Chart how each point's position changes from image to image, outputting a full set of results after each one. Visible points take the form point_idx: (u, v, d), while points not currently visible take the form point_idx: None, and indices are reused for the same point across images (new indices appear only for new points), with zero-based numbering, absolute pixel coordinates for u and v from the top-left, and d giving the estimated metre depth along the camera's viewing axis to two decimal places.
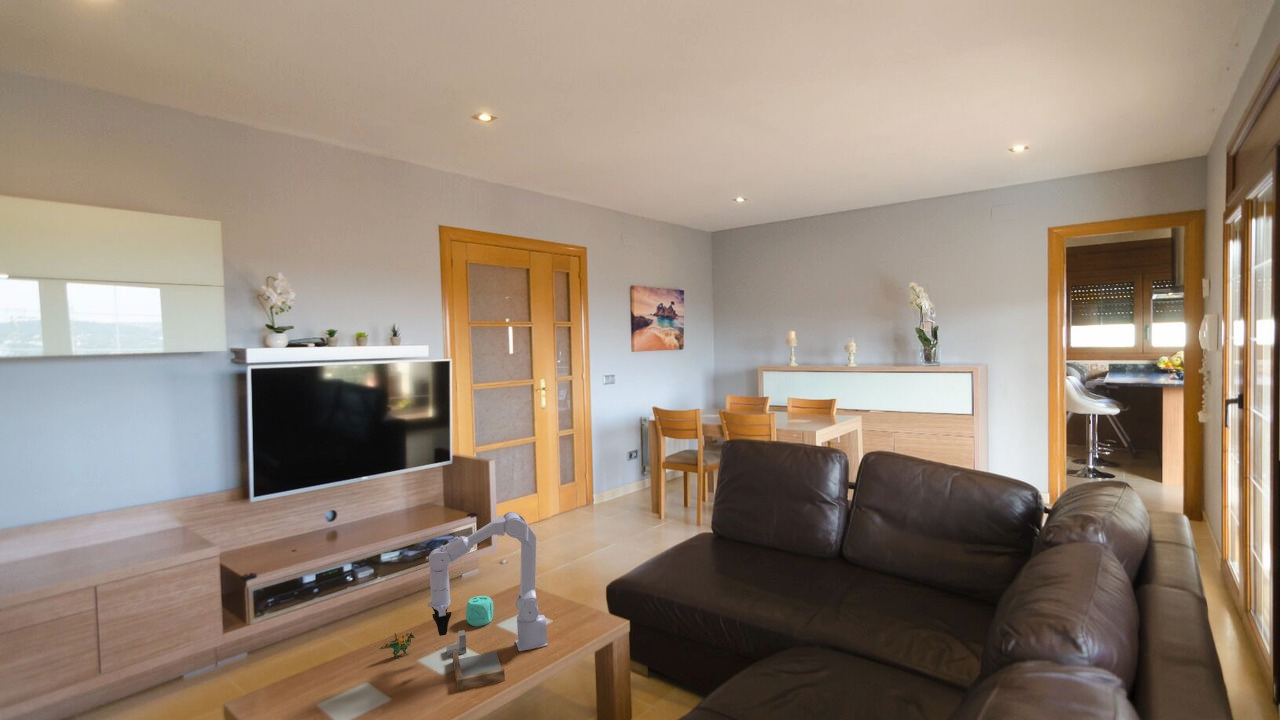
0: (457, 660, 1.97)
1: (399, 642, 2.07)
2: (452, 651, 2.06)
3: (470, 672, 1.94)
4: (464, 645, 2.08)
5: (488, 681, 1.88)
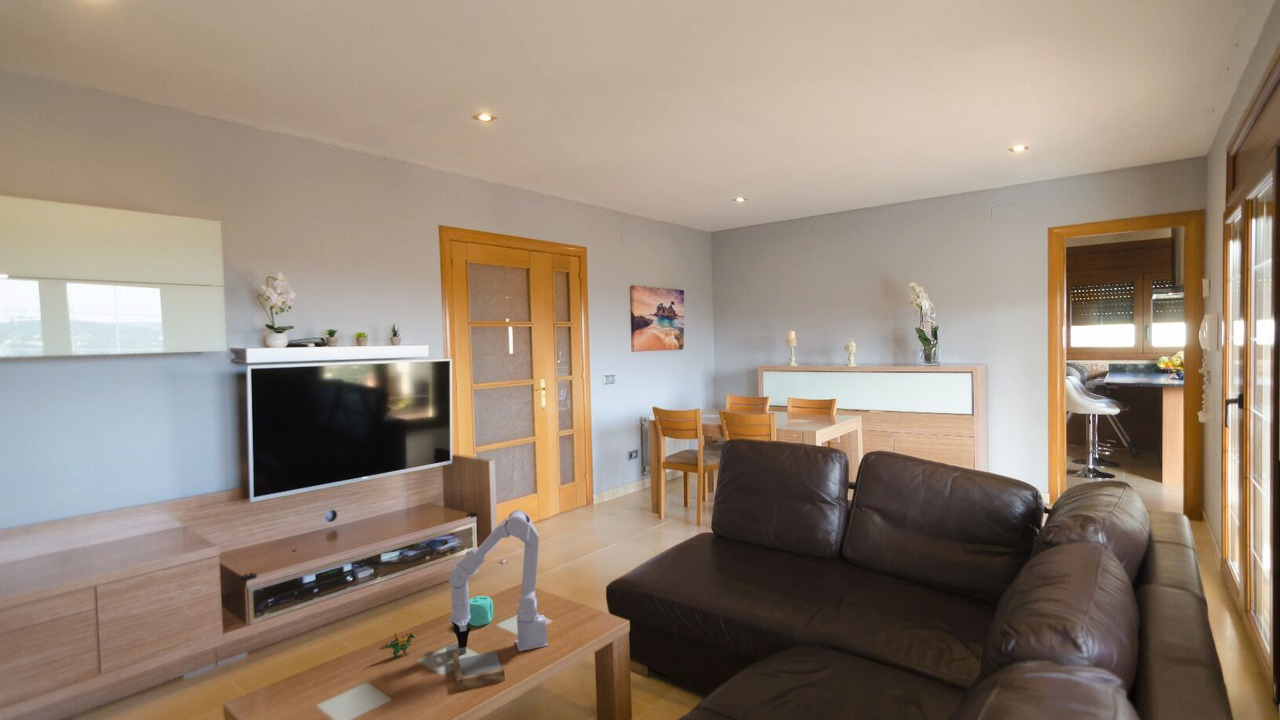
0: (457, 660, 1.97)
1: (399, 642, 2.07)
2: (452, 651, 2.06)
3: (470, 672, 1.94)
4: None
5: (488, 681, 1.88)
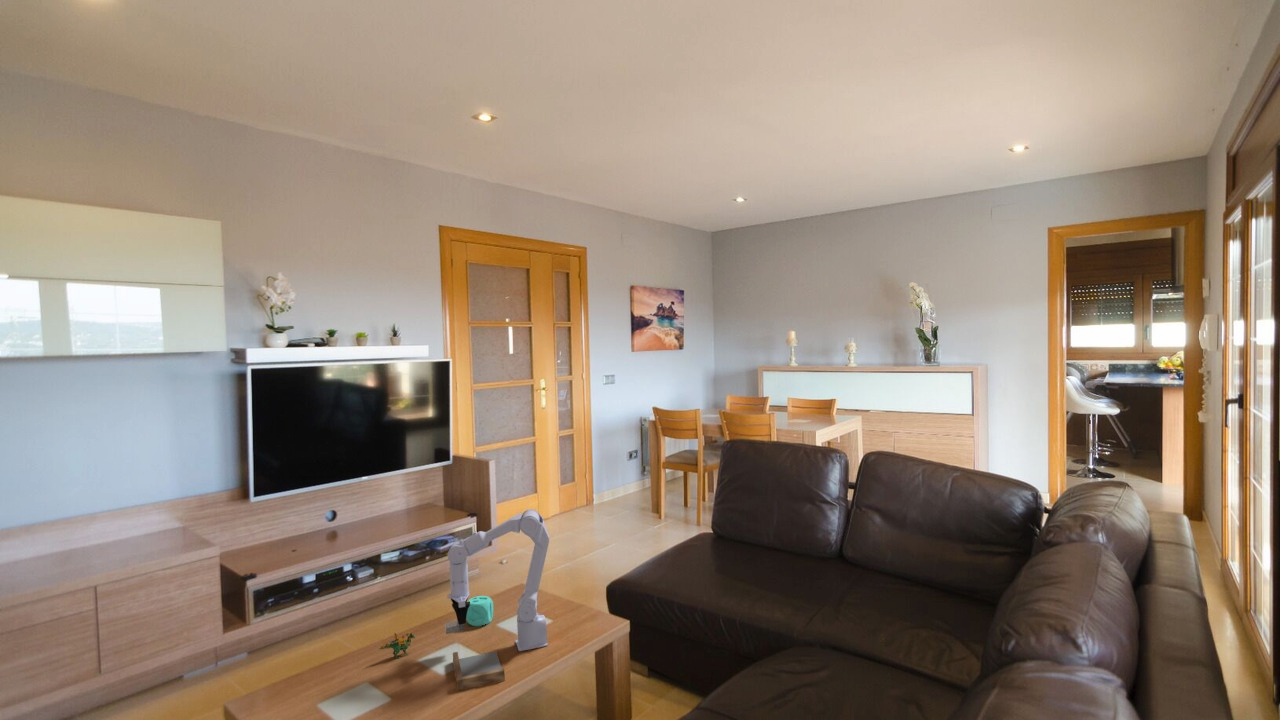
0: (457, 660, 1.97)
1: (399, 642, 2.07)
2: (451, 628, 2.06)
3: (470, 672, 1.94)
4: None
5: (488, 681, 1.88)
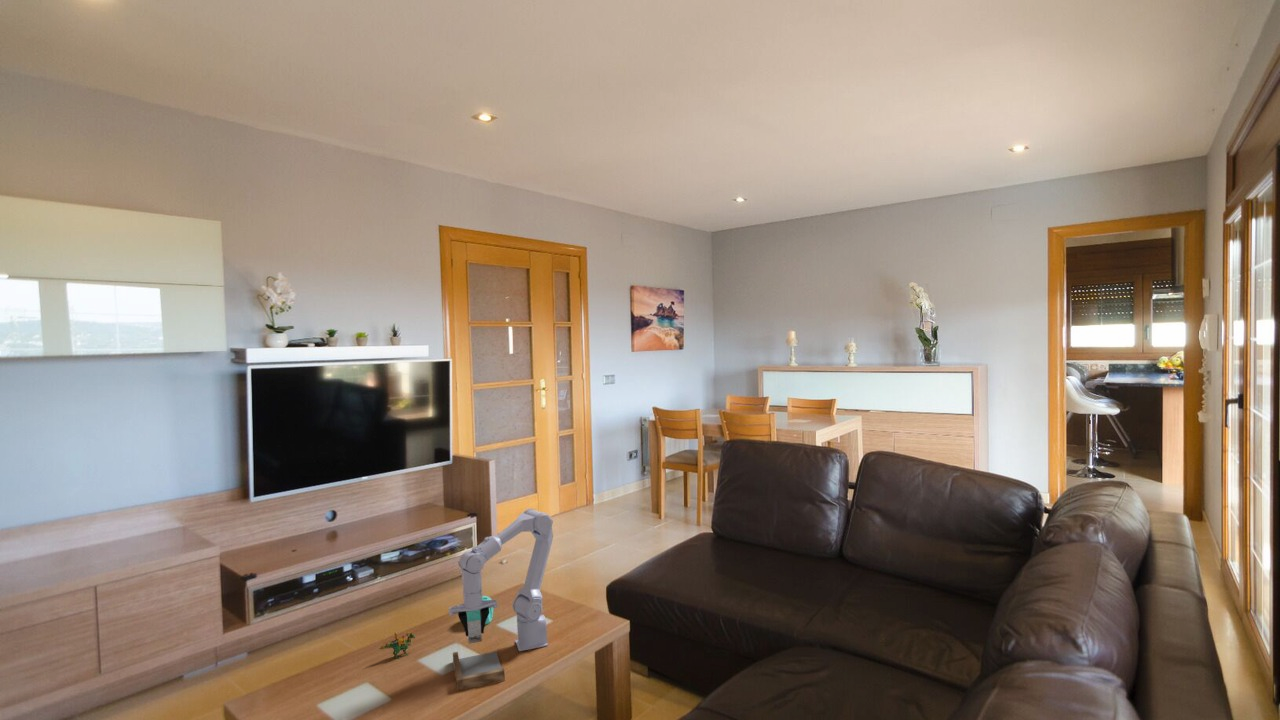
0: (457, 660, 1.97)
1: (399, 642, 2.07)
2: None
3: (470, 672, 1.94)
4: None
5: (488, 681, 1.88)
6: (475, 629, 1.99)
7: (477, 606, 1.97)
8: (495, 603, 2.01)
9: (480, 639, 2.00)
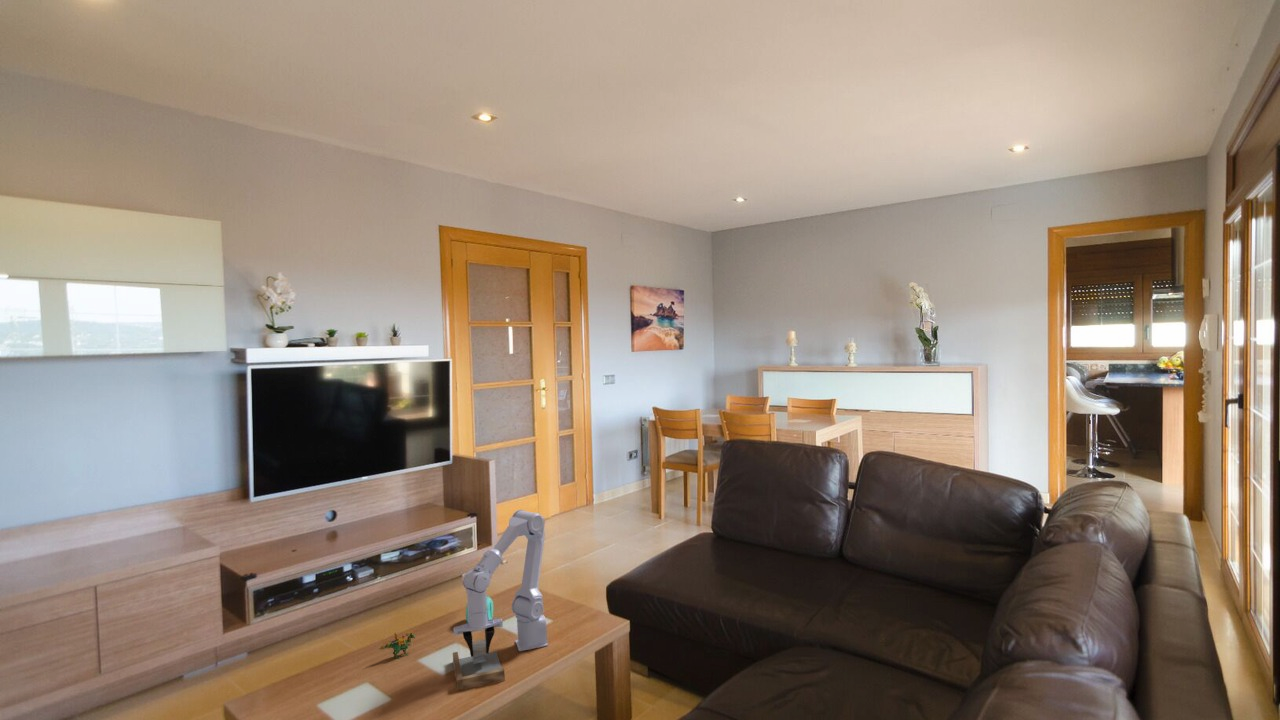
0: (457, 660, 1.97)
1: (399, 642, 2.07)
2: None
3: (470, 672, 1.94)
4: None
5: (488, 681, 1.88)
6: (480, 649, 1.96)
7: (482, 626, 1.94)
8: (500, 622, 1.98)
9: (485, 659, 1.97)
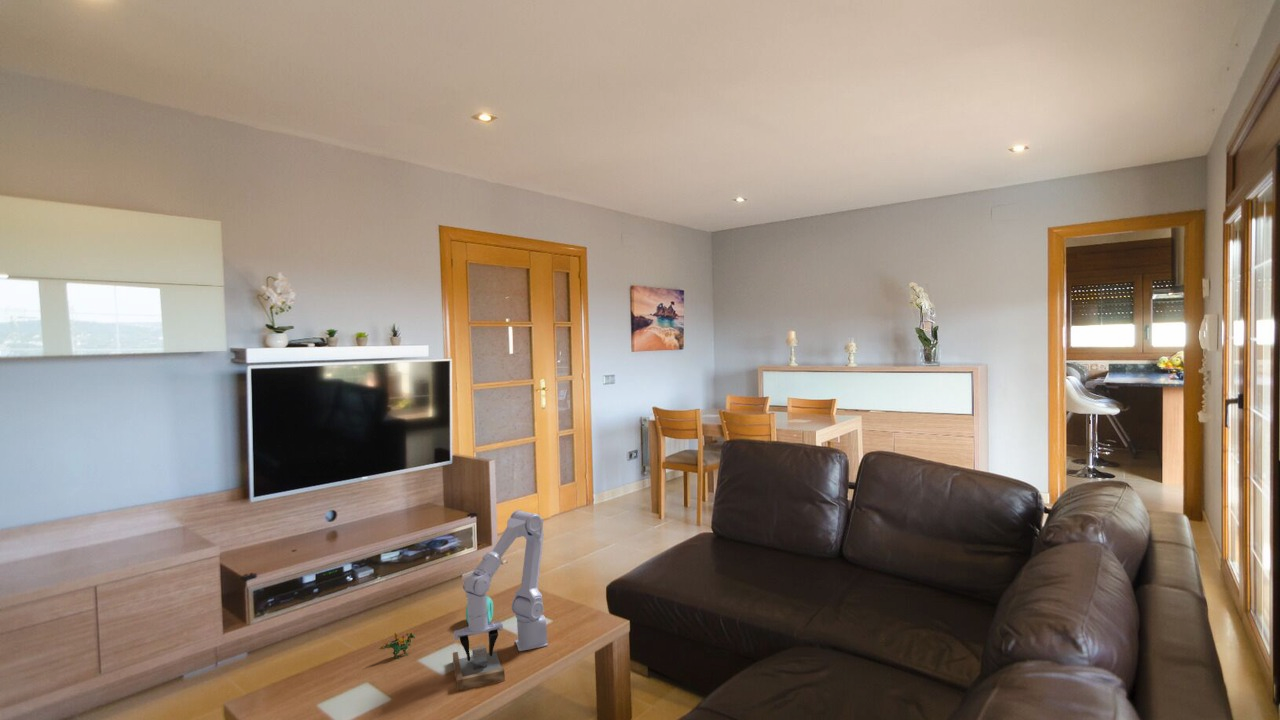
0: (457, 660, 1.97)
1: (399, 642, 2.07)
2: None
3: (470, 672, 1.94)
4: (473, 660, 1.96)
5: (488, 681, 1.88)
6: (481, 655, 1.96)
7: (482, 629, 1.95)
8: (500, 626, 1.98)
9: (485, 665, 1.97)
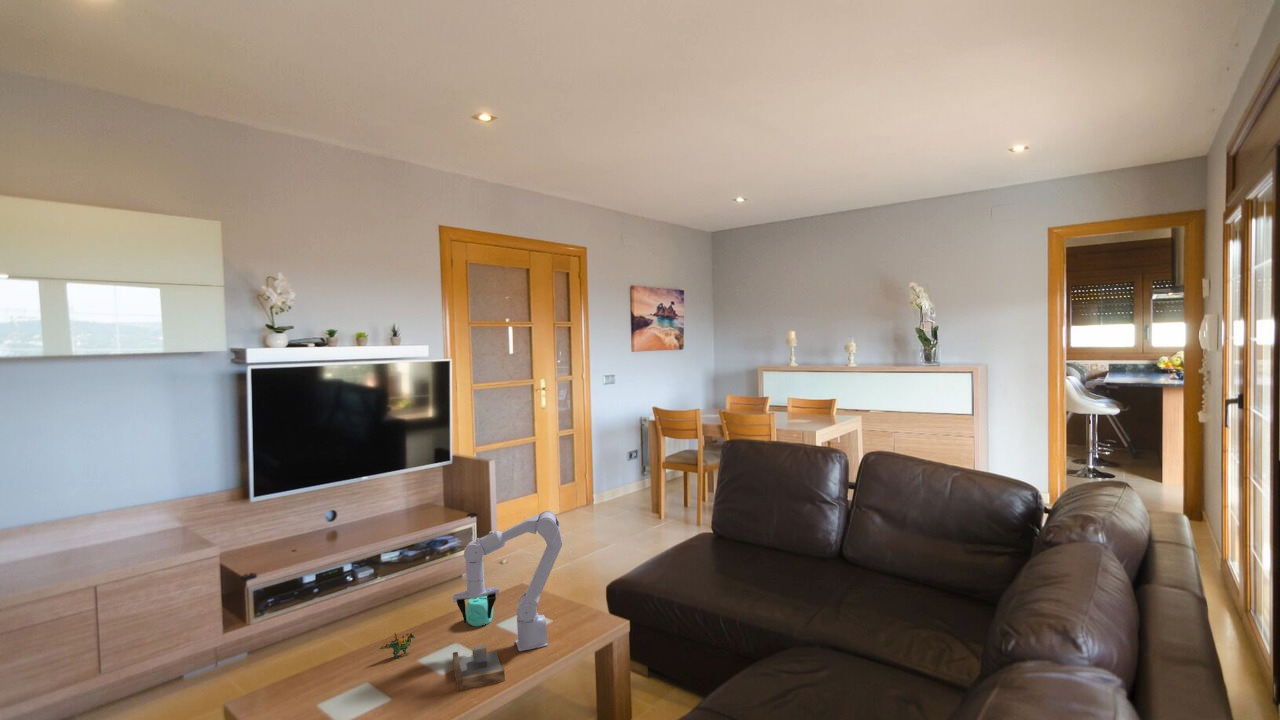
0: (457, 660, 1.97)
1: (399, 642, 2.07)
2: None
3: (470, 672, 1.94)
4: (473, 660, 1.96)
5: (488, 681, 1.88)
6: (481, 655, 1.96)
7: (480, 593, 2.08)
8: (497, 590, 2.11)
9: (485, 665, 1.97)
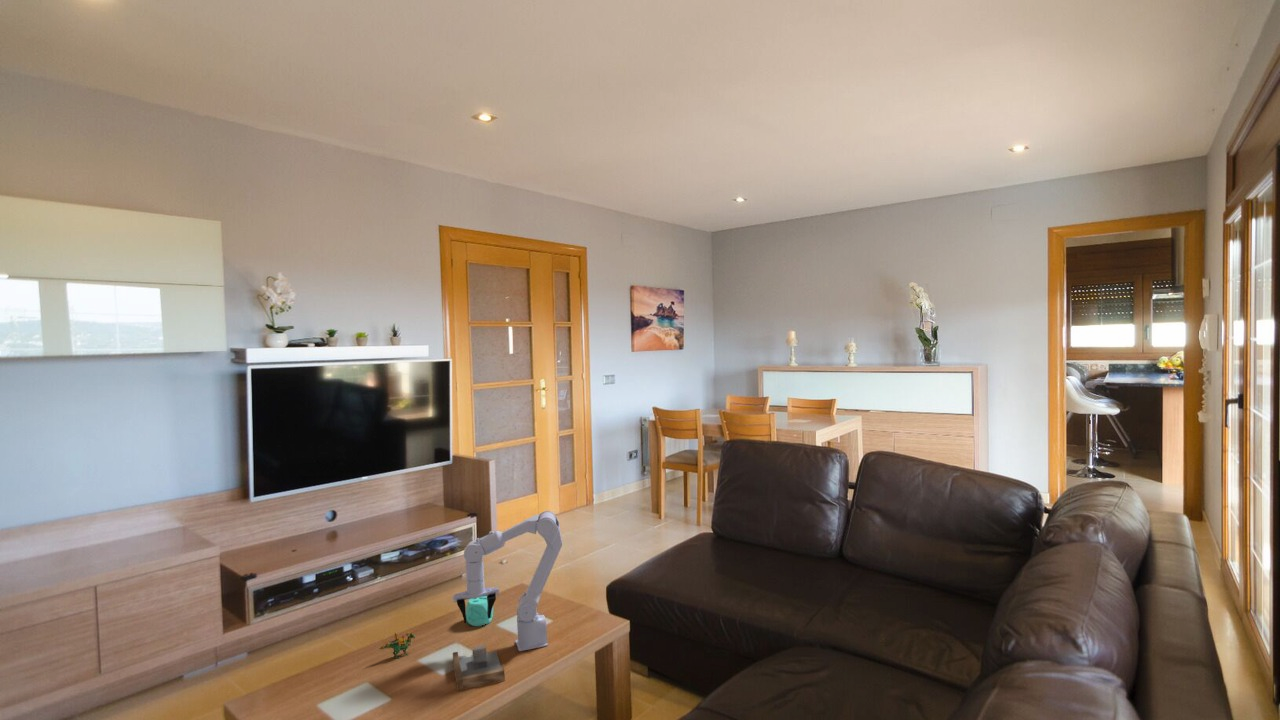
0: (457, 660, 1.97)
1: (399, 642, 2.07)
2: None
3: (470, 672, 1.94)
4: (473, 660, 1.96)
5: (488, 681, 1.88)
6: (481, 655, 1.96)
7: (480, 593, 2.08)
8: (497, 590, 2.11)
9: (485, 665, 1.97)
